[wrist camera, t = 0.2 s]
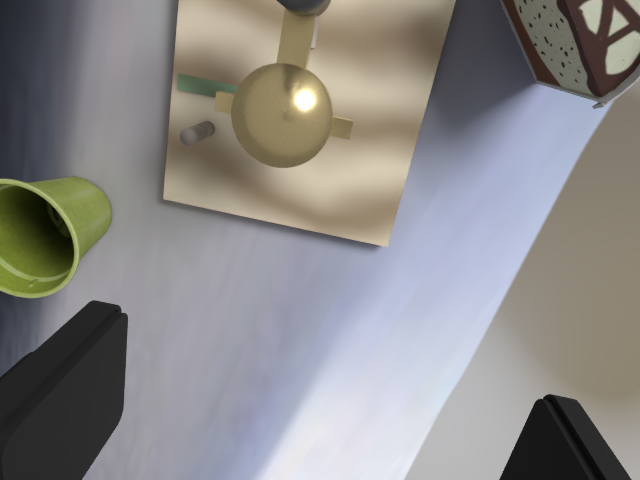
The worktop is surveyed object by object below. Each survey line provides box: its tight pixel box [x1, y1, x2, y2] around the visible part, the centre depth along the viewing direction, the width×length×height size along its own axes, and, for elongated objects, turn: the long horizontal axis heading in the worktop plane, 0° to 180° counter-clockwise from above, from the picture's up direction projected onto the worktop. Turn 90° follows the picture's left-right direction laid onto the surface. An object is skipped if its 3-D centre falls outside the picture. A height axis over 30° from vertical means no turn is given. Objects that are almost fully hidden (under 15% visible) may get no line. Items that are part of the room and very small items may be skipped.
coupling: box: [214, 0, 353, 168], centre depth 27 cm, size 12×9×6 cm
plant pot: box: [0, 177, 112, 298], centre depth 38 cm, size 9×9×9 cm
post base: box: [163, 0, 456, 247], centre depth 34 cm, size 20×20×7 cm
